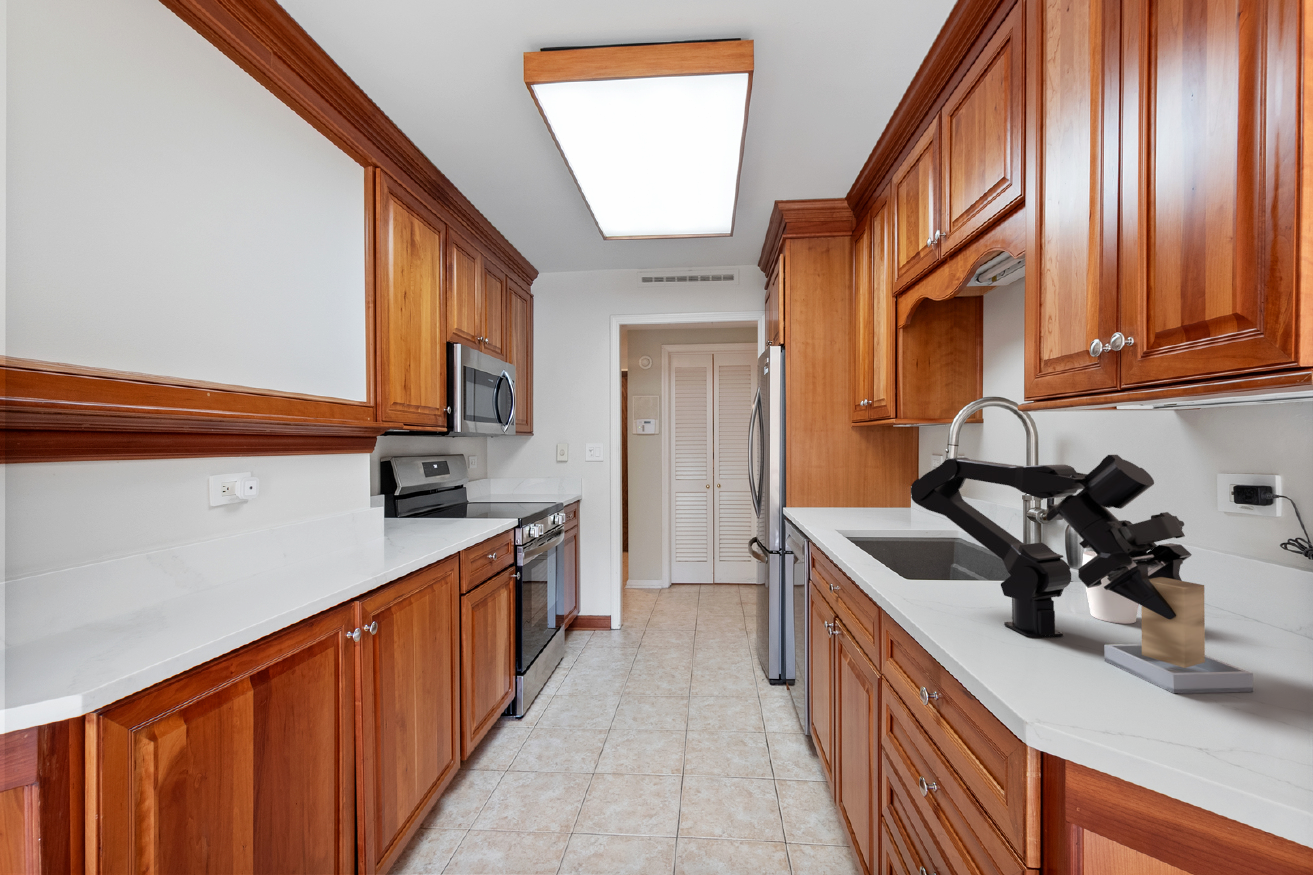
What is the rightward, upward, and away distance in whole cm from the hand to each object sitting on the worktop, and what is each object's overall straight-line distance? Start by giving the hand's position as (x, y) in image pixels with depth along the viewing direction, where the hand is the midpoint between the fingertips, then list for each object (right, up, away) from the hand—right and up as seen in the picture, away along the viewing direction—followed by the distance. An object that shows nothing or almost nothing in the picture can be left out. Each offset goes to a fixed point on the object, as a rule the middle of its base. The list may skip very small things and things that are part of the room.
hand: (1184, 615), depth 78 cm
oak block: (0, -7, +1) cm, 7 cm away
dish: (0, -9, +1) cm, 9 cm away
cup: (+12, -9, +27) cm, 31 cm away
